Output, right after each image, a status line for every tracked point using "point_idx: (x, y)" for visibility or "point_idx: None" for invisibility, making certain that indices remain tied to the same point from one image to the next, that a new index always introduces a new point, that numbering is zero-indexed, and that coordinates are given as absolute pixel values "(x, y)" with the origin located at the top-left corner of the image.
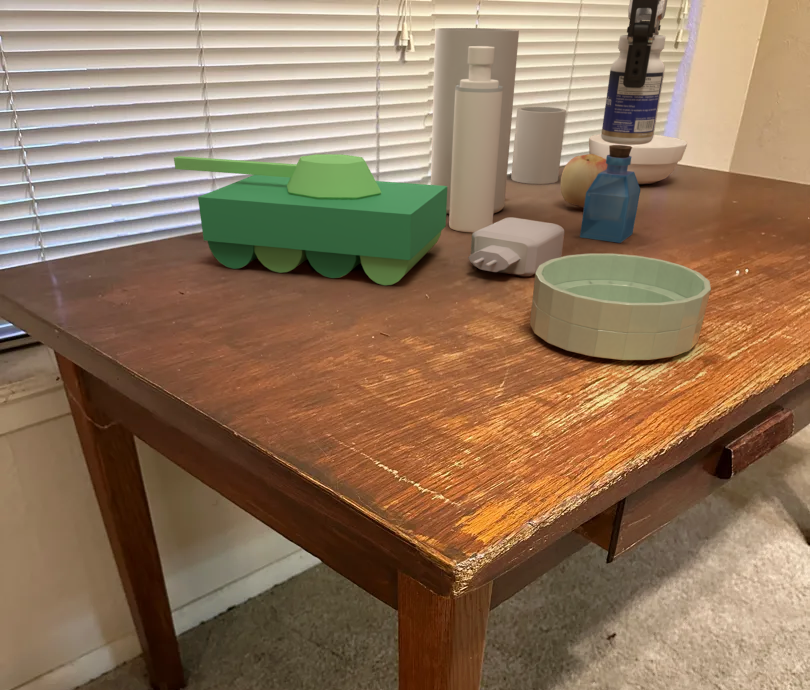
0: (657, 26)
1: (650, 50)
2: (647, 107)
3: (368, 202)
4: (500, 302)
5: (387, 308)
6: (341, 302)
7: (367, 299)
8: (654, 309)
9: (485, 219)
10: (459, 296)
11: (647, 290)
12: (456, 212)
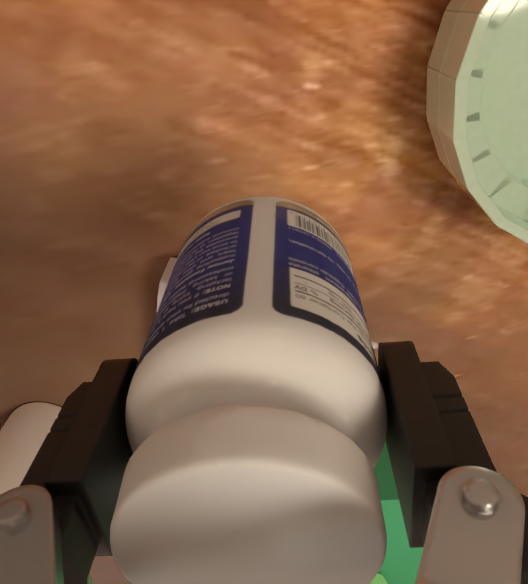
0: (55, 564)
1: (409, 446)
2: (338, 271)
3: (395, 557)
4: (448, 284)
5: (520, 403)
6: (508, 452)
7: (487, 433)
8: None
9: (52, 421)
10: (437, 342)
11: (499, 27)
12: None
